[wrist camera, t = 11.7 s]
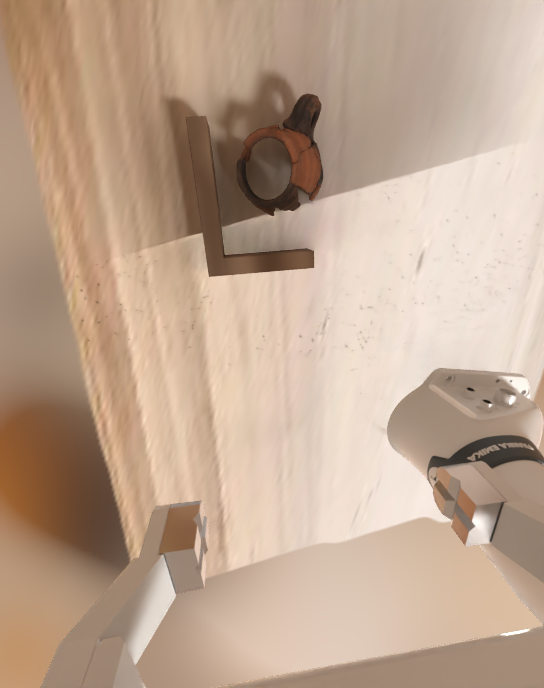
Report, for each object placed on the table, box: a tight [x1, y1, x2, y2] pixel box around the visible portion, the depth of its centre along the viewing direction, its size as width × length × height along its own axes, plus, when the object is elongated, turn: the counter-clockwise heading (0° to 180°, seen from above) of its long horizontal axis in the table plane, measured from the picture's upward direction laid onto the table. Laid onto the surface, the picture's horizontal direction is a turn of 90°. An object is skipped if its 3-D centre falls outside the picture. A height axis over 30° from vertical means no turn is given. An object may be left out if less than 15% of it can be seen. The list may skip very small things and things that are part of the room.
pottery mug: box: [237, 94, 323, 216], centre depth 34 cm, size 12×9×8 cm
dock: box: [186, 116, 314, 277], centre depth 36 cm, size 13×16×4 cm
